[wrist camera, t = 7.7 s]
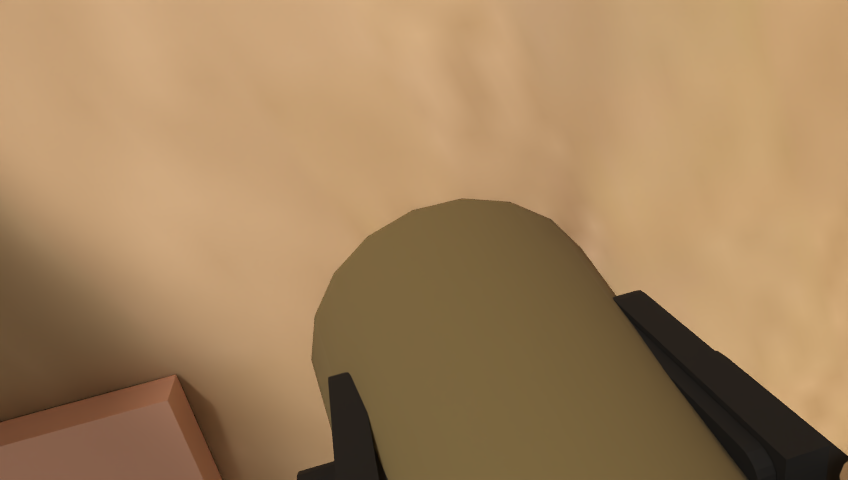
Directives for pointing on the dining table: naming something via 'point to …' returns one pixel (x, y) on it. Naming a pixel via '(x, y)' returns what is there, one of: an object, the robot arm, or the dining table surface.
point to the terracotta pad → (110, 438)
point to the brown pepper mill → (502, 357)
